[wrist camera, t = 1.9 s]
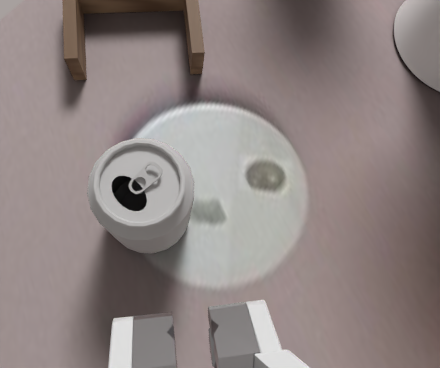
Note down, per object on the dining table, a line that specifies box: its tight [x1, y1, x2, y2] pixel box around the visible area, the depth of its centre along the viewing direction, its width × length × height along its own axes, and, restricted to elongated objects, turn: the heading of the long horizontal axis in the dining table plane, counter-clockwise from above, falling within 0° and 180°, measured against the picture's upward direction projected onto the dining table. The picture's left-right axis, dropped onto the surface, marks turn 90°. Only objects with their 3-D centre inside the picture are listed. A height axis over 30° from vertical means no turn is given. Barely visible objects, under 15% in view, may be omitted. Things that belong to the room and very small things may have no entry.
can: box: [87, 138, 194, 253], centre depth 33 cm, size 8×8×12 cm
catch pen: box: [63, 0, 205, 80], centre depth 42 cm, size 13×9×4 cm
